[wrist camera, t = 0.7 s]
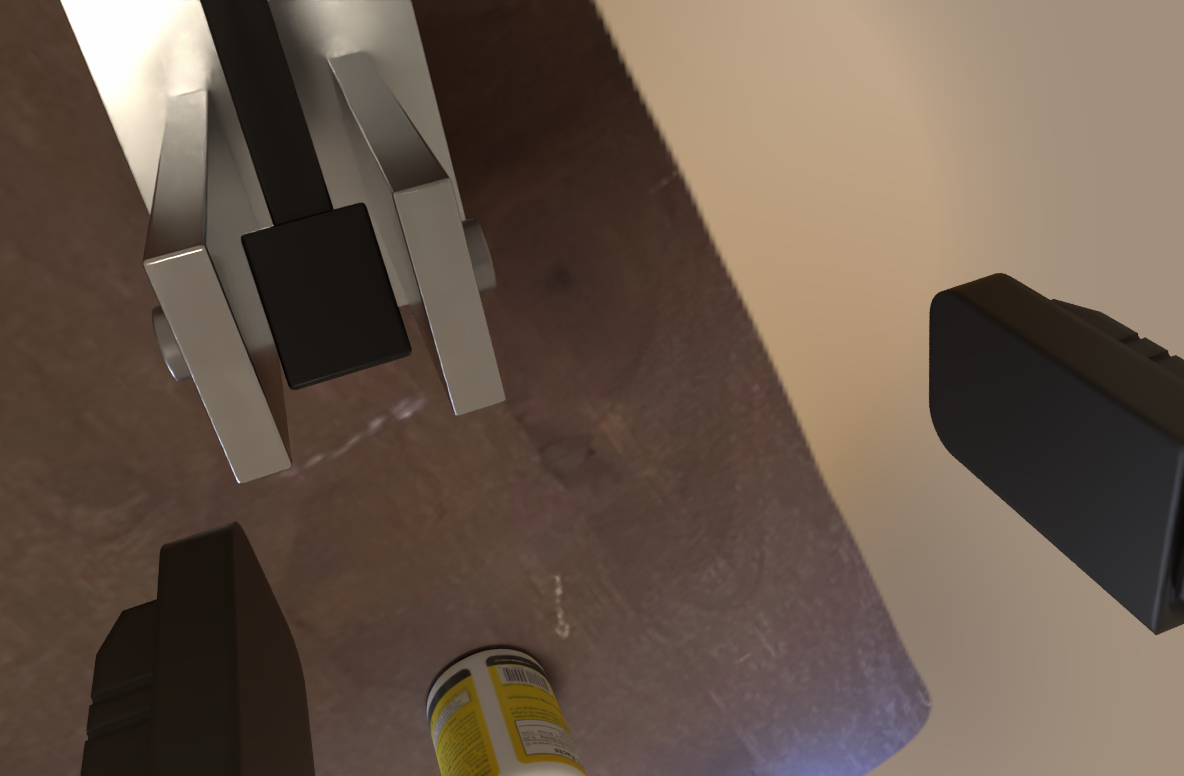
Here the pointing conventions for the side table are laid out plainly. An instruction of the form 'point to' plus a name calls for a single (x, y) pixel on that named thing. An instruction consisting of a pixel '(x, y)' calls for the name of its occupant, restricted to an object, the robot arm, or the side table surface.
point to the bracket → (237, 206)
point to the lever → (302, 218)
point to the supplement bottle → (499, 719)
